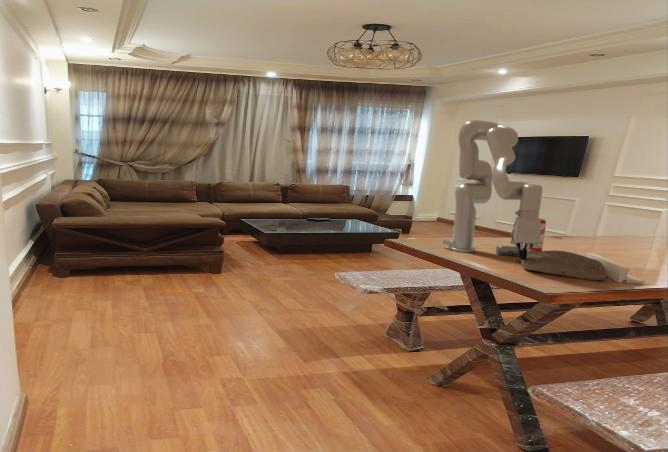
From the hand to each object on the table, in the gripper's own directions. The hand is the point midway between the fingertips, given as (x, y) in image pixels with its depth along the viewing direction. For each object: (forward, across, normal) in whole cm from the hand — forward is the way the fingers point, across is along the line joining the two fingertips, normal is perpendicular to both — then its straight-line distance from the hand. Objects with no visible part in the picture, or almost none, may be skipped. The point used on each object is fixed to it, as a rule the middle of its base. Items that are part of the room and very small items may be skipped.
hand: (521, 259), depth 184 cm
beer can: (+4, +22, +39) cm, 45 cm away
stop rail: (+4, +38, +2) cm, 38 cm away
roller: (0, +3, +25) cm, 25 cm away
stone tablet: (+5, +16, +1) cm, 17 cm away
